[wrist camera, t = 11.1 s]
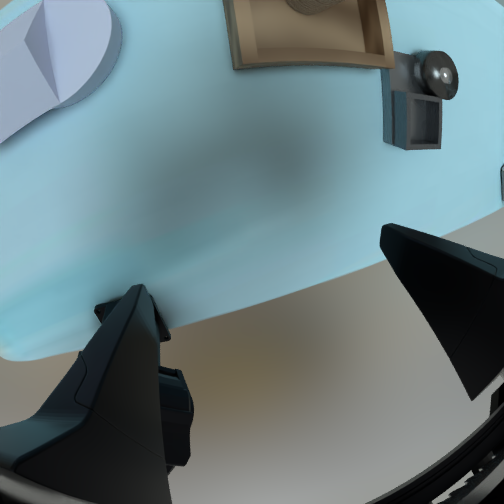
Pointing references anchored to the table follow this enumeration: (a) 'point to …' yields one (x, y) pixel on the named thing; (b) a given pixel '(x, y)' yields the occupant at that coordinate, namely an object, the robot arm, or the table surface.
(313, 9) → the pin
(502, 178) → the hard drive box
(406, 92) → the plate
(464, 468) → the robot arm
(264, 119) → the table surface
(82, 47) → the wedge on round base
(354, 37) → the tray
